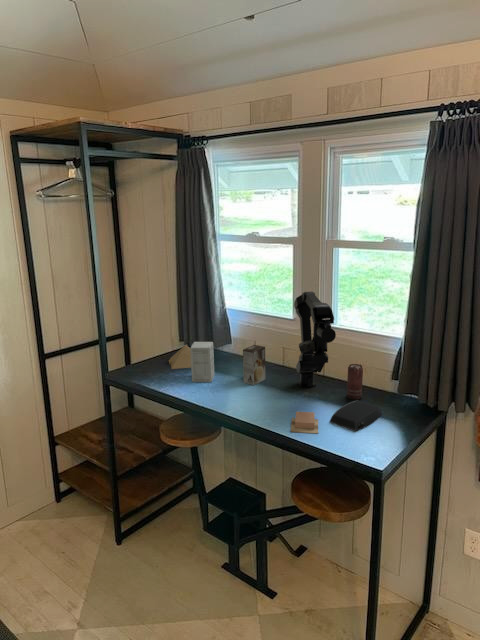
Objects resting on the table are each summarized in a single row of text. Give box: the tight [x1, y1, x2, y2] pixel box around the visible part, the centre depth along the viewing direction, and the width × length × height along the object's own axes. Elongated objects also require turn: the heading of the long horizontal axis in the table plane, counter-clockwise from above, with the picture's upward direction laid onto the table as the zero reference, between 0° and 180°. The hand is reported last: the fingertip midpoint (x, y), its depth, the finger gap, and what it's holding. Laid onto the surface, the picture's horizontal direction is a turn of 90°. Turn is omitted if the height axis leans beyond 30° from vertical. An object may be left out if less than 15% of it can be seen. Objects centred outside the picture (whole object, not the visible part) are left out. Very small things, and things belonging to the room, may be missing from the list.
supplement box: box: [189, 341, 215, 383], centre depth 229 cm, size 10×9×17 cm
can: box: [346, 363, 364, 401], centre depth 206 cm, size 6×6×14 cm
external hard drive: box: [329, 399, 383, 433], centre depth 189 cm, size 13×19×4 cm
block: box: [295, 411, 316, 429], centre depth 185 cm, size 2×7×9 cm
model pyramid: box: [168, 344, 191, 370], centre depth 252 cm, size 17×17×10 cm
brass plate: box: [290, 417, 319, 434], centre depth 184 cm, size 11×10×1 cm
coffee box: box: [242, 344, 266, 386], centre depth 225 cm, size 9×6×16 cm
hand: (319, 371), depth 201 cm, fingers closed
